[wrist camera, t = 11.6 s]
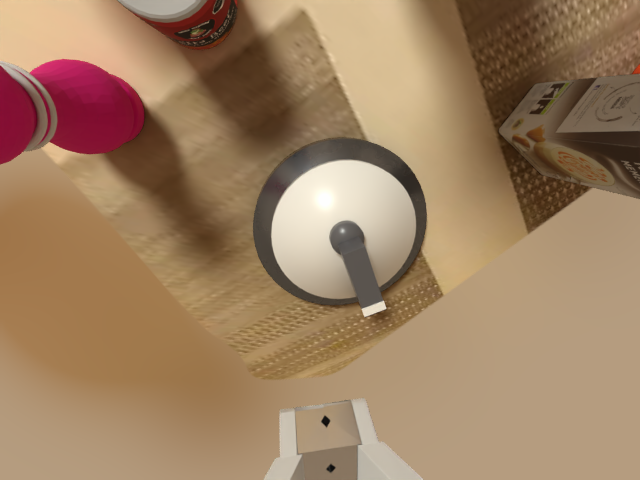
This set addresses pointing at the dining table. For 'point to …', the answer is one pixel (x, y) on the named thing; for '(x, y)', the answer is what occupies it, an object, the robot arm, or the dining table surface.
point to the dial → (344, 231)
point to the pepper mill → (65, 109)
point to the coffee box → (582, 131)
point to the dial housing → (310, 158)
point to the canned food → (187, 19)
